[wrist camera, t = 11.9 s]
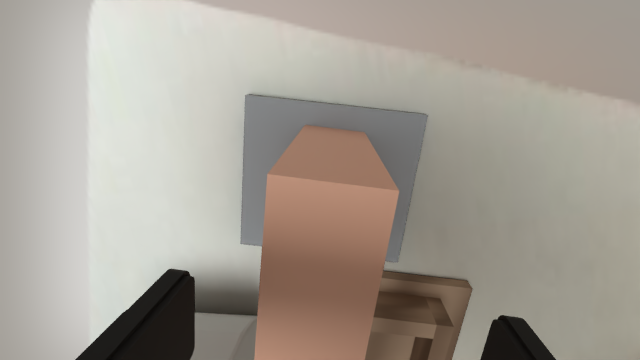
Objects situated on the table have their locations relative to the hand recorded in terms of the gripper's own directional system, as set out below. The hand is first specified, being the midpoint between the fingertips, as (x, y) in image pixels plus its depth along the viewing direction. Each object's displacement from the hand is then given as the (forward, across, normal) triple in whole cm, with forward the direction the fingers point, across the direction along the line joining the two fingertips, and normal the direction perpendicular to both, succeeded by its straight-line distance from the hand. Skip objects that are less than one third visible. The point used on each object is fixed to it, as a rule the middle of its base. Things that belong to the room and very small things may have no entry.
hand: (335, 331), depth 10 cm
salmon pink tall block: (+13, +1, -1) cm, 13 cm away
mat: (+14, +1, -1) cm, 14 cm away
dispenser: (+14, -5, +13) cm, 20 cm away
